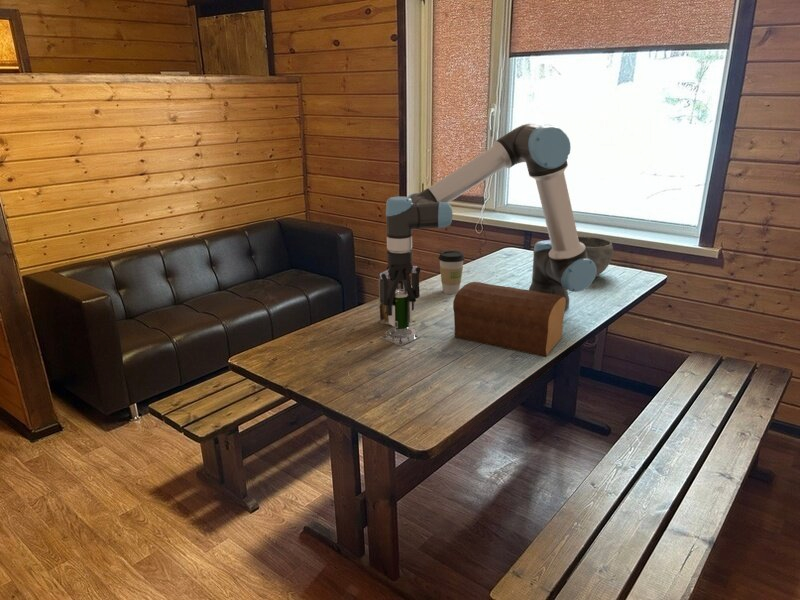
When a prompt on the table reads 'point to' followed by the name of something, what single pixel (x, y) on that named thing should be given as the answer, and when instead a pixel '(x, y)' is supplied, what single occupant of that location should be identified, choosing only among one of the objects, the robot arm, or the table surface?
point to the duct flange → (400, 336)
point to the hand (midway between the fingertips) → (400, 322)
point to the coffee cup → (451, 270)
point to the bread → (509, 317)
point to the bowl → (598, 251)
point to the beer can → (401, 310)
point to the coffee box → (383, 316)
